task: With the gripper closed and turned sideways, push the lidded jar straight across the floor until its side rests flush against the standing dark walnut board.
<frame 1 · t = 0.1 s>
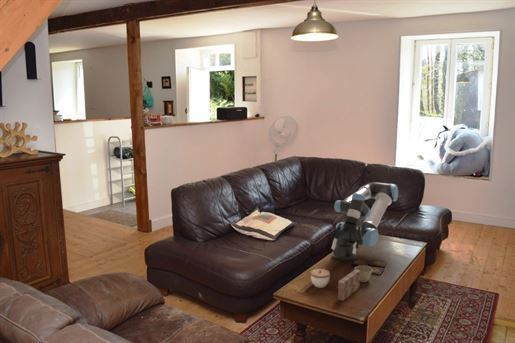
hand: (343, 251, 265), 15 cm above the table, tool tilted 35°, fingers open, 13 cm apart
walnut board: (349, 293, 245), on the table
flower pot: (363, 280, 261), on the table
lidded jar: (320, 285, 256), on the table
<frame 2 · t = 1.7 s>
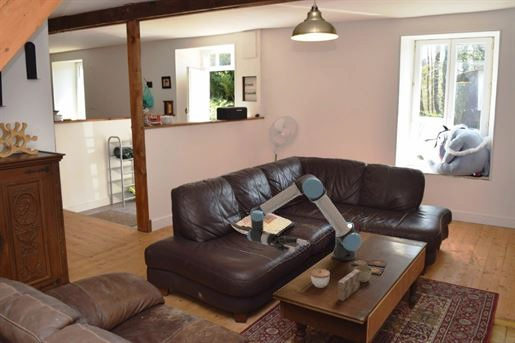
hand: (300, 246, 260), 21 cm above the table, tool horizontal, fingers open, 13 cm apart
nothing on the table moved.
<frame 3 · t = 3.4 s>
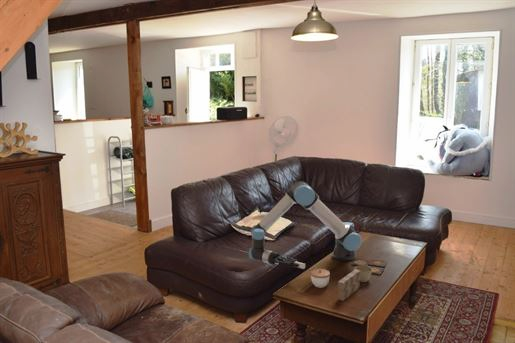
hand: (304, 266, 260), 9 cm above the table, tool horizontal, fingers closed
nothing on the table moved.
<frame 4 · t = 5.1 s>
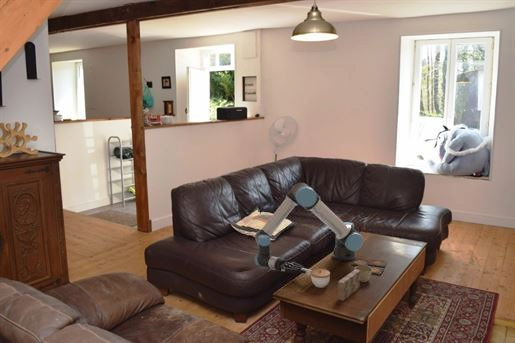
hand: (311, 272, 257), 6 cm above the table, tool horizontal, fingers closed
lidded jar: (320, 285, 255), on the table, touching gripper
everything else where it was.
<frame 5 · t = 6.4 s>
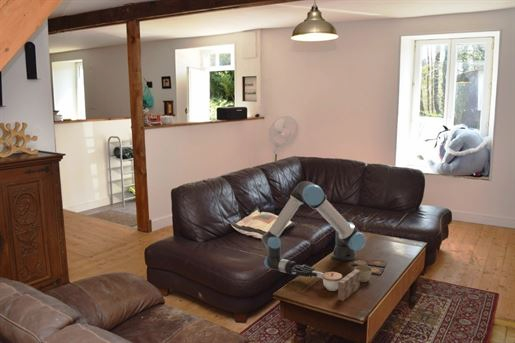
hand: (322, 275, 253), 6 cm above the table, tool horizontal, fingers closed
lidded jar: (332, 288, 251), on the table, touching gripper
everything else where it was.
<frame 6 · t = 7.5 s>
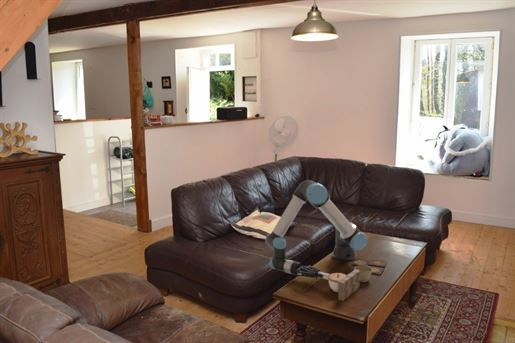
hand: (328, 276, 251), 6 cm above the table, tool horizontal, fingers closed
lidded jar: (338, 290, 249), on the table, touching gripper, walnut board
everything else where it was.
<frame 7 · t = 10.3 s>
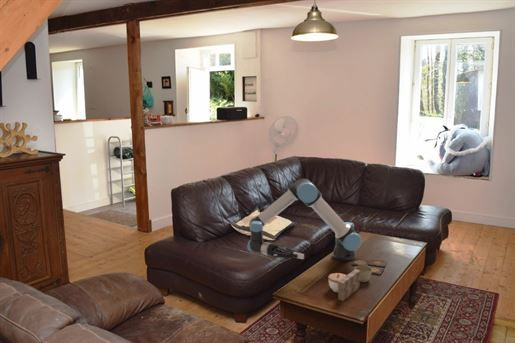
hand: (303, 256, 259), 15 cm above the table, tool horizontal, fingers closed
lidded jar: (338, 290, 249), on the table
everything else where it was.
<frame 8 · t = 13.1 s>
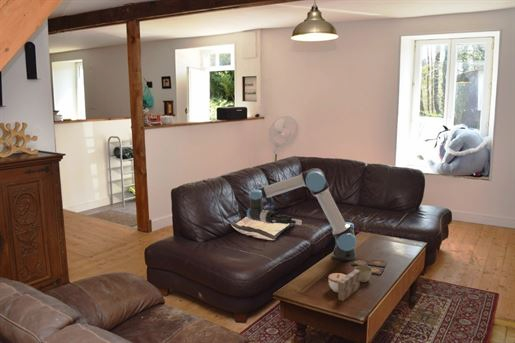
hand: (301, 222, 267), 32 cm above the table, tool horizontal, fingers closed
nothing on the table moved.
at the end: lidded jar inside the target area on the table beside the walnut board (0.7 cm from its centre), on the table; lidded jar tilted 0° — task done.
